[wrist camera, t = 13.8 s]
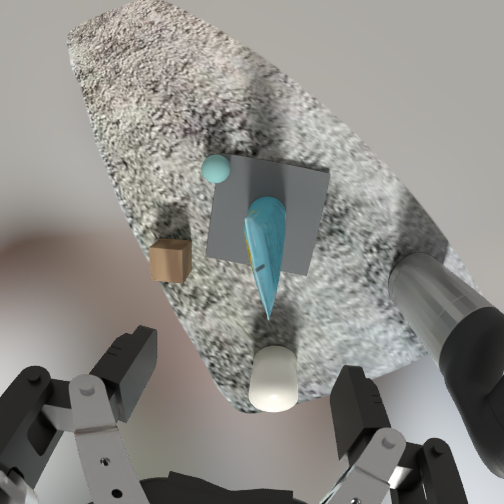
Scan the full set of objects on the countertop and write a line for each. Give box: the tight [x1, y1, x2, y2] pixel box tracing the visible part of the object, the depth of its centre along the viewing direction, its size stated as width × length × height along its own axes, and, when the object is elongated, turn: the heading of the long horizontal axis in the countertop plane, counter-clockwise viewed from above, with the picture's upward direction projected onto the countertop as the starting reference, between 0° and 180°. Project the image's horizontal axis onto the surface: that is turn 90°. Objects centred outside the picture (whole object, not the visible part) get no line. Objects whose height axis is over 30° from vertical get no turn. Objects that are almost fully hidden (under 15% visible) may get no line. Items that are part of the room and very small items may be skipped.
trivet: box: [206, 153, 330, 276], centre depth 38 cm, size 14×14×1 cm
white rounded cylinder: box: [249, 346, 298, 412], centre depth 42 cm, size 7×7×8 cm
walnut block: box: [149, 238, 192, 284], centre depth 39 cm, size 4×4×4 cm
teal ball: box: [201, 155, 230, 183], centre depth 34 cm, size 4×4×4 cm
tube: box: [244, 196, 287, 320], centre depth 28 cm, size 8×5×19 cm, turn 17°
